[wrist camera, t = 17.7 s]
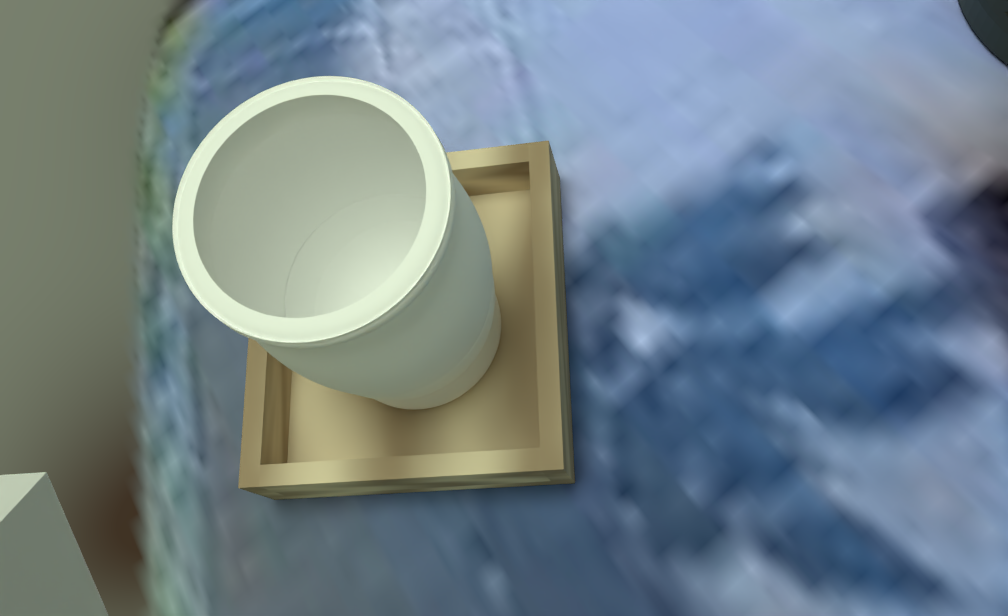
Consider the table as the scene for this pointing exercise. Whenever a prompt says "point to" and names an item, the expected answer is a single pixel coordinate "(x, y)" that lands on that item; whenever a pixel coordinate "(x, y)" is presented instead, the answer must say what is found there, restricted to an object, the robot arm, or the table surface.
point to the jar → (341, 242)
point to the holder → (465, 420)
